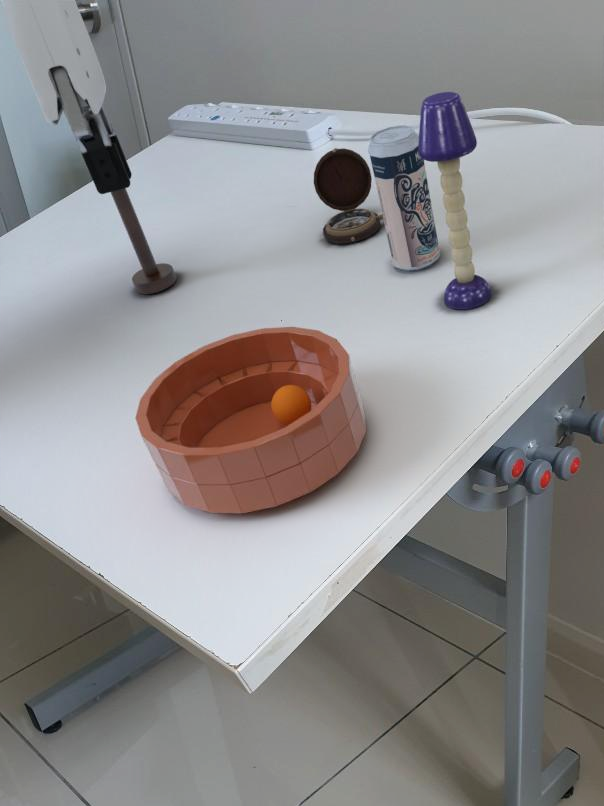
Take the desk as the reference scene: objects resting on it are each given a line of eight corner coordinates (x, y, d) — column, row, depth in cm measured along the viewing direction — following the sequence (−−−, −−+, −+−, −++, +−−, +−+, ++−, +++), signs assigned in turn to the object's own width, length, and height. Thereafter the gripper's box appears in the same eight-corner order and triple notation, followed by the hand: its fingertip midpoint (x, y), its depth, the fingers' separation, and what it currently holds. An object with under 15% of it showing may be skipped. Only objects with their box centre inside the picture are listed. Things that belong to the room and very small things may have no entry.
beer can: (426, 275, 82) (402, 145, 74) (383, 272, 84) (355, 145, 76) (449, 251, 84) (428, 123, 76) (407, 248, 87) (382, 123, 79)
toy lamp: (443, 288, 79) (409, 94, 68) (494, 279, 79) (468, 81, 68) (445, 314, 76) (409, 114, 65) (498, 305, 75) (471, 101, 64)
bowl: (155, 540, 61) (120, 474, 57) (179, 414, 72) (152, 352, 68) (373, 496, 60) (353, 426, 56) (363, 375, 71) (345, 309, 67)
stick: (133, 297, 90) (64, 139, 80) (139, 278, 94) (74, 124, 83) (174, 288, 90) (110, 128, 79) (178, 270, 93) (118, 113, 83)
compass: (325, 251, 90) (306, 181, 85) (324, 220, 96) (306, 153, 91) (401, 234, 89) (386, 162, 85) (395, 204, 95) (381, 135, 90)
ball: (277, 436, 66) (265, 404, 64) (278, 414, 68) (267, 382, 66) (316, 428, 66) (305, 395, 64) (315, 406, 68) (305, 373, 66)
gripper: (-2, -37, 78) (86, 169, 91) (-36, -6, 67) (70, 225, 79) (79, -58, 78) (156, 150, 91) (59, -30, 67) (150, 204, 79)
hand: (115, 184), depth 85 cm, fingers closed on stick, 1 cm apart
